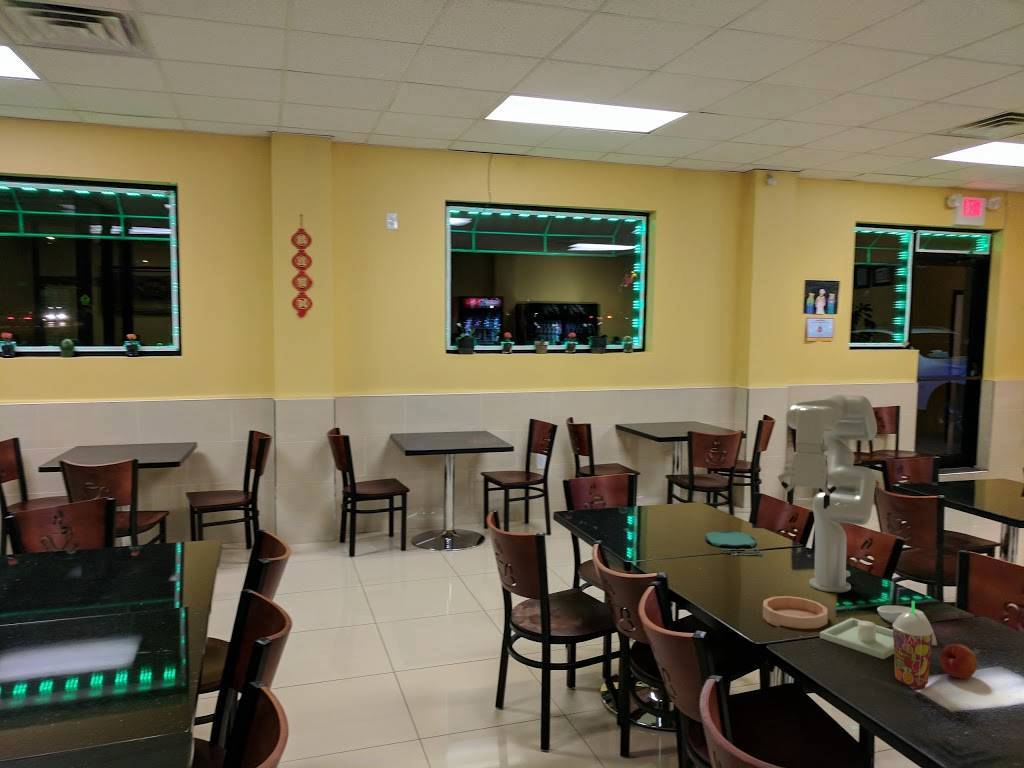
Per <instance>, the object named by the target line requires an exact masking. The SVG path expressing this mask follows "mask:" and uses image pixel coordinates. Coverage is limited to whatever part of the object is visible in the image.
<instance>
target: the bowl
mask: <svg viewBox="0 0 1024 768" xmlns="http://www.w3.org/2000/svg"><path fill="white" fill-rule="evenodd" d="M828 613H829V612H828V607H826V606H825V605H823V604H821V603H820V602H818V601H814V600H811V599H809V598H805V597H798V596H790V595H784V596H783V595H782V596H771V597H769V598H766V599H764V600H763V604H762V619H763V620H764V619H765V620H766V621H767V622H766V621H765V620H764V621H765V622H766V623H768V624H769V623H770V624H769V625H771V624H772V625H771V626H773V625H774V626H773V627H775V626H777V627H776V628H778V627H780V626H783V627H787V628H793V629H803V630H804V629H806V630H807V629H808V630H809V629H819V628H821V627H824V626H826V625H828Z"/></svg>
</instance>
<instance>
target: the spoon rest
mask: <svg viewBox="0 0 1024 768" xmlns="http://www.w3.org/2000/svg"><path fill="white" fill-rule="evenodd" d="M911 609H912V607H910V606H905V605H904V606H903V605H881V606H879V607H877V609H876V610H877V612H878V614H879V616H880V617H881V618H883V619H884V620H885V621H887V622H888V623H891V624H893V623H894V622H895V620H896V619H897V617H898V616H899V615H901V614H902V613H905V612H911ZM915 613H918V614H920V615H922V616H923V617H924V618H925V619H926V620H927V621H928V622H929V624H930V626H931V628H932V629H933V627H932V624H931V623H930V621H929V620H928V617H927V616H926V614H925V613H924V612H923V611H921V610H920V609H916V608H915ZM932 646H938V642H937V638H936V635H935V632H934V631H933V634H932Z"/></svg>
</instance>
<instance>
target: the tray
mask: <svg viewBox="0 0 1024 768" xmlns="http://www.w3.org/2000/svg"><path fill="white" fill-rule="evenodd" d="M859 621H862V620H860V619H857V618H854V617H850V618H848V619H846V620H843V621H841V622H839V623H837V624H835V625H832V626H831V627H828V628H826V629H824V630H822V631H820V632H819V639H822V640H825V641H828V642H831V643H834V644H836V645H837V644H838V645H840V646H843V647H846V648H849V649H852V650H855V651H857V652H861V653H864V654H867V655H870V656H872V657H874V658H875V657H876V658H879V659H881V660H885V659H887V658H888V657H891V656H892V655H894V639H893V629H890V628H887V627H884V626H881V625H877V624H876V642H875V643H864V642H861V641H859V640H858V622H859Z"/></svg>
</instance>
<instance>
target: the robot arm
mask: <svg viewBox="0 0 1024 768" xmlns="http://www.w3.org/2000/svg"><path fill="white" fill-rule="evenodd" d="M786 421H787V425H788V426H789V427H790V428H791V429H792V430H793V429H794V430H796V431H795V433H796V434H795V452H793V454H792V458H791V464H790V470H789V471H787V472H784V473H781V474H779V475H778V476H777V478H778V480H779V482H780V485H781V486H782V488H783V489H785V491H786V502H788V506H792V505H793V504H794V490H793V489H794V487H801V488H811V489H821V491H822V492H821V491H819V492H818V493H816V494H815V495H814V496H813V499H812V510H813V517H814V519H813V520H814V577H812V578H810V579H809V580H808V581H809V585H810V586H811V587H812V588H814V589H817V590H819V591H823V592H829V593H846V592H849V591H851V589H852V585H851V584H850V582H848V581H847V578H848V577H850V576H851V572H850V571H849V570H847V534H846V531H845V530H844V528H843V527H842V525H841V524H840V523H843V524H848V525H849V524H850V525H859V526H864V525H866V524H868V523H869V521H870V519H871V517H872V515H871V514H872V511H873V503H874V496H875V491H876V490H875V489H876V475H875V472H874V471H873V470H872V469H871V468H870V467H866V466H862V465H861V466H858V465H854V464H855V463H854V462H855V453H854V452H853V449H852V448H850V447H849V445H848V444H847V443H846V442H845V441H844V440H848V441H849V440H851V441H866V442H867V441H872V440H873V439H875V437H876V436H877V433H878V425H877V424H878V423H877V420H876V415H875V412H874V408H873V406H872V404H871V402H870V399H868V398H867V397H865V396H864V395H849V394H848V395H846V394H845V395H843V394H835V395H834V394H833V395H830V396H828V397H826V398H824V399H817V400H812V401H811V400H810V401H801V402H797V403H794V404H792V405H791V406H790V407H789V409H788V411H787V414H786ZM824 452H826V453H824ZM787 477H789V483H790V484H788V483H787V482H786V480H785V478H787Z"/></svg>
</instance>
